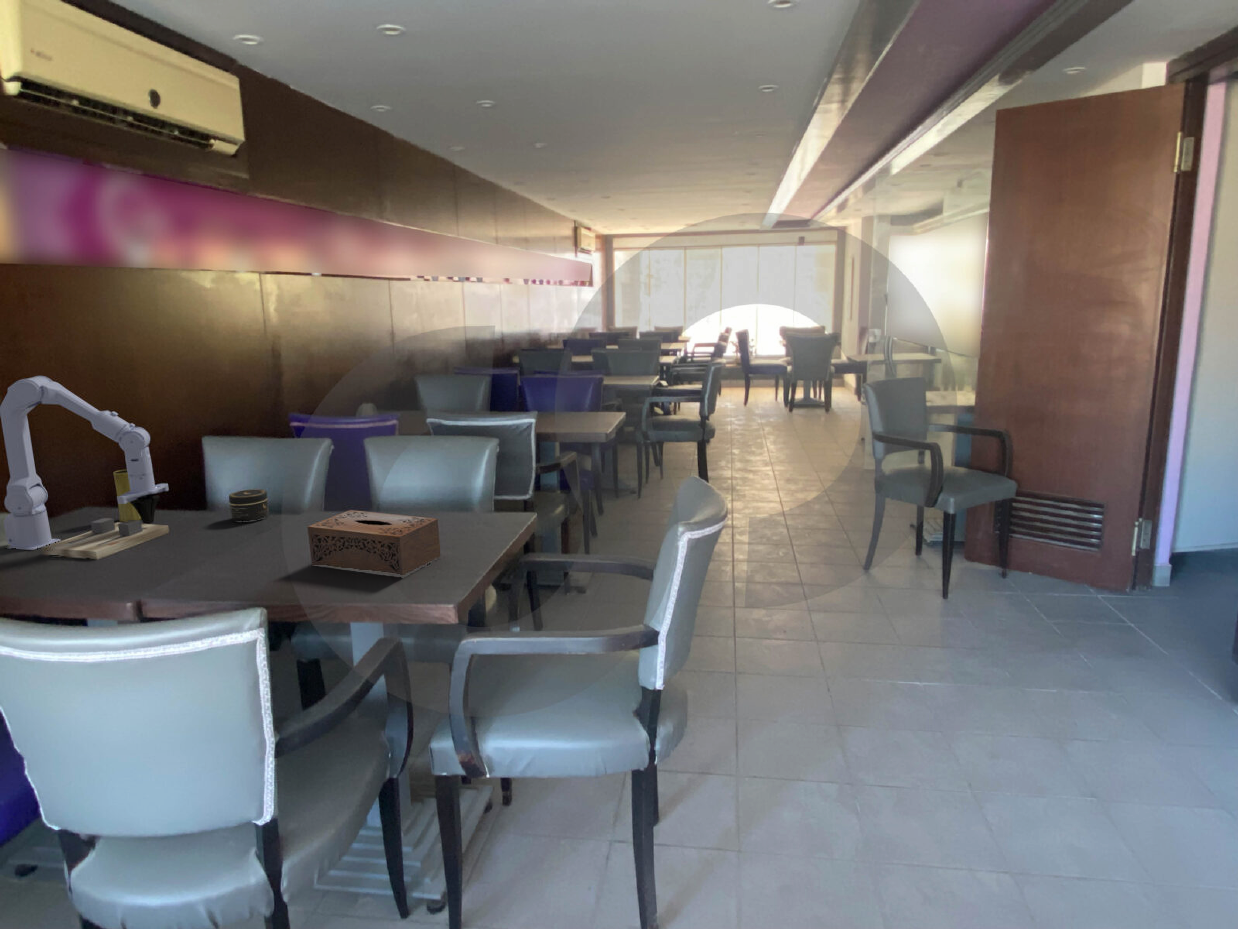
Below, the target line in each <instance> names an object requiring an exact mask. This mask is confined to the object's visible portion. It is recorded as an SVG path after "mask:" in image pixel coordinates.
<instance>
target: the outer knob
mask: <svg viewBox="0 0 1238 929" xmlns="http://www.w3.org/2000/svg"><path fill="white" fill-rule="evenodd" d="M141 524H142V519H140V520H129V521H126V522H121V523H120V524H118V528H119V534H120V535H124V536H131V535H134V534H136V533H139V532H142V525H141Z"/></svg>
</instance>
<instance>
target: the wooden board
mask: <svg viewBox="0 0 1238 929" xmlns="http://www.w3.org/2000/svg"><path fill="white" fill-rule="evenodd" d="M120 523H122V522H121V521H119V522H114V524H115V530H112V531H109V532H106V533H103V534H97V533H92V530H90V531H87V532H84V533H82V534H79V535H76V536H72V537H69V538H66V539H63V540H61V541H59V542H56V543H53V544H50V545H47V546H44V547H41V551H42V554H43V556H49V555H60V556H59V557H61V556H66V557H65V558H76V559H86V558H90V559H89V560H99V559H102V558H105V557H108V556H111V555H113V554H116V553H119V552H122V551H123V550H127V549H129V548H132V547H134V546H137V545H139V544H142V543H145V542H148V541H150V540H154V539H156V538H158V537H161V536H164V535H168V534H169V533H170V528H169V525H167V524H166V525H165V524H152V523H150V524H144V523H141V525H142V532H139V533H136V534H134V535H131V536H124V535H120V534H119V528H118V524H120Z"/></svg>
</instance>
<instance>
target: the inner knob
mask: <svg viewBox="0 0 1238 929" xmlns="http://www.w3.org/2000/svg"><path fill="white" fill-rule="evenodd" d="M114 523H115V520H114V518H110V517H109V518H108V517H103V518H99V519H96V520H94V521H90V528H91V531H92V533H97V534H103V533H106V532H109V531H112V530H115V524H114Z"/></svg>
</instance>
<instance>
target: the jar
mask: <svg viewBox="0 0 1238 929" xmlns="http://www.w3.org/2000/svg"><path fill="white" fill-rule="evenodd" d="M268 500H269V498H268V493H267V491H266V490H265V489H262V488H261V489H259V488H258V489H257V488H255V489H254V488H250V489H244V490H239V491H235V492H232V493H230V494H229V495H228V504H229V508H230V515H231V518H232V520H233V521H234V520H235V521H242V522H243V521H250V520H258V519H261V518H264V517H267V518H268V516H269V513H270V510H269V501H268ZM235 521H234V522H235Z"/></svg>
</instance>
